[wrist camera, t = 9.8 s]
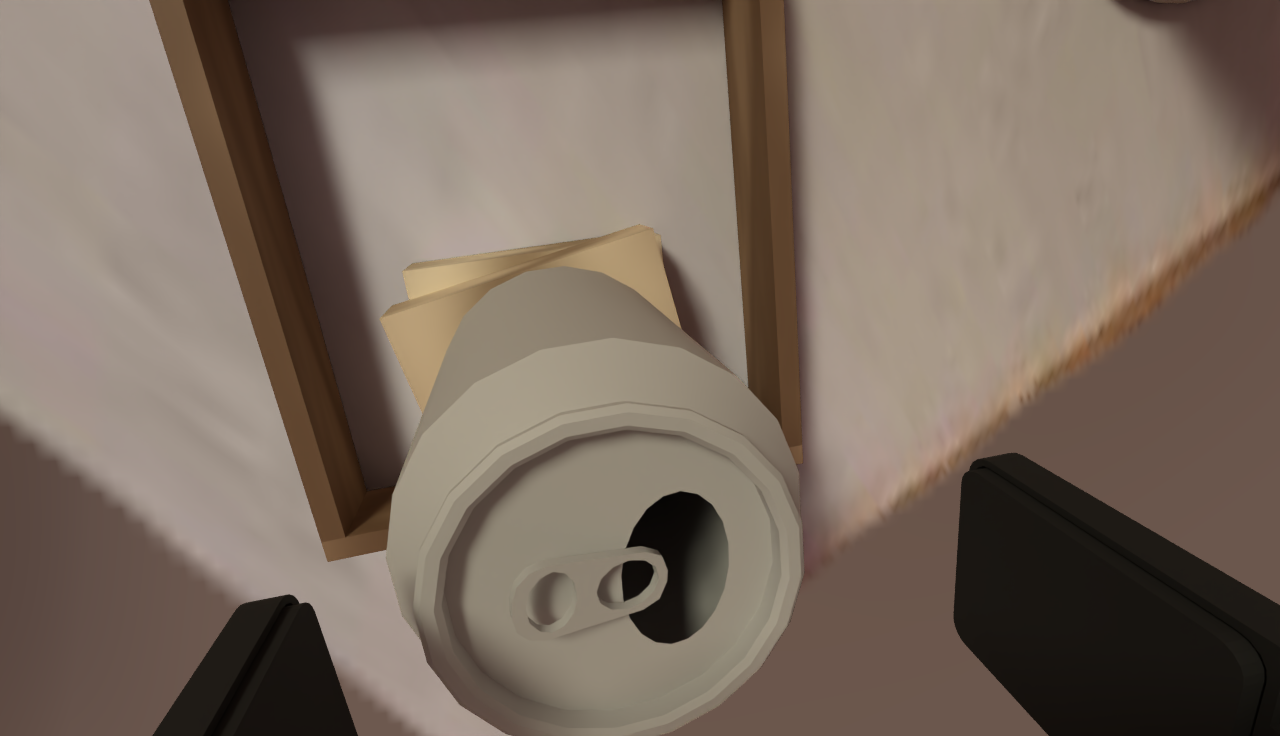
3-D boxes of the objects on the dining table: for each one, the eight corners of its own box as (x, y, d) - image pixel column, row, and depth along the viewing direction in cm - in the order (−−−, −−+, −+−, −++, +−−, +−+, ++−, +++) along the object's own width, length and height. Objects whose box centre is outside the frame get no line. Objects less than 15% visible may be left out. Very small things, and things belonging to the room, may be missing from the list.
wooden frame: (737, -88, 22) (778, -137, 19) (768, 430, 28) (802, 463, 25) (183, -55, 19) (116, -104, 16) (351, 512, 25) (327, 561, 22)
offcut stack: (660, 216, 24) (691, 222, 20) (682, 425, 27) (713, 468, 23) (392, 253, 23) (366, 268, 19) (444, 471, 26) (432, 526, 21)
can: (665, 471, 23) (820, 757, 11) (450, 483, 21) (383, 826, 10) (676, 264, 21) (879, 361, 9) (439, 260, 19) (337, 372, 8)
